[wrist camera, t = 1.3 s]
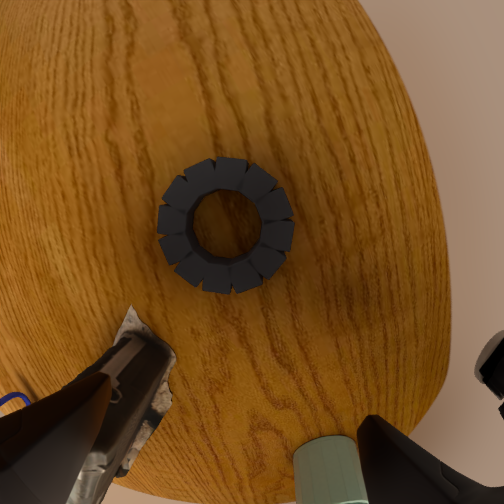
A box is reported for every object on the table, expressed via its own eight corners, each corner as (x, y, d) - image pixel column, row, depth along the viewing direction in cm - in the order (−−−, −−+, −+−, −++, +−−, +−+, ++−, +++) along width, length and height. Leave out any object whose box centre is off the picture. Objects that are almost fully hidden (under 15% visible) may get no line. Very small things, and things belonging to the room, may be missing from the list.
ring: (215, 136, 18) (210, 131, 16) (315, 213, 19) (321, 216, 17) (145, 235, 20) (134, 240, 18) (239, 306, 21) (236, 318, 19)
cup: (326, 427, 24) (341, 496, 15) (368, 444, 24) (387, 502, 16) (279, 459, 25) (281, 522, 16) (322, 474, 26) (331, 529, 17)
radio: (131, 304, 21) (13, 423, 7) (218, 362, 22) (177, 523, 7) (76, 423, 26) (27, 497, 11) (131, 459, 27) (95, 540, 12)
